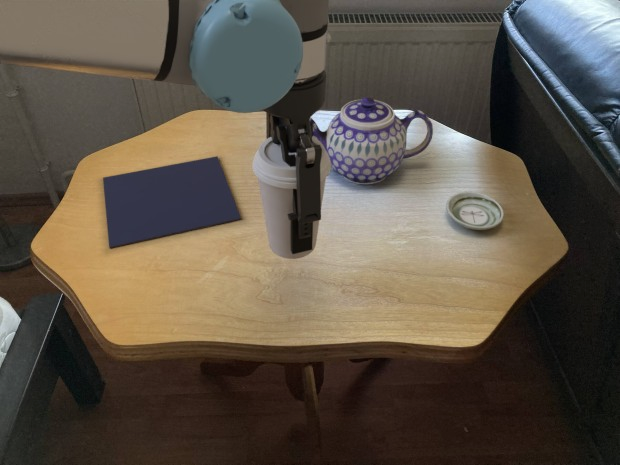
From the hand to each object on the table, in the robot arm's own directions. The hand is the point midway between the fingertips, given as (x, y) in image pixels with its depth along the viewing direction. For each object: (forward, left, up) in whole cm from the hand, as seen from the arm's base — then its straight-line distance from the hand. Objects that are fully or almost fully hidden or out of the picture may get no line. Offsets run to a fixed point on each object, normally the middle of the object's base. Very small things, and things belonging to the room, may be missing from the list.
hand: (292, 230), depth 69 cm
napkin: (-15, +28, -12) cm, 34 cm away
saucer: (+34, +5, -12) cm, 37 cm away
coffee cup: (0, 0, -2) cm, 2 cm away
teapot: (+22, +25, -12) cm, 36 cm away
